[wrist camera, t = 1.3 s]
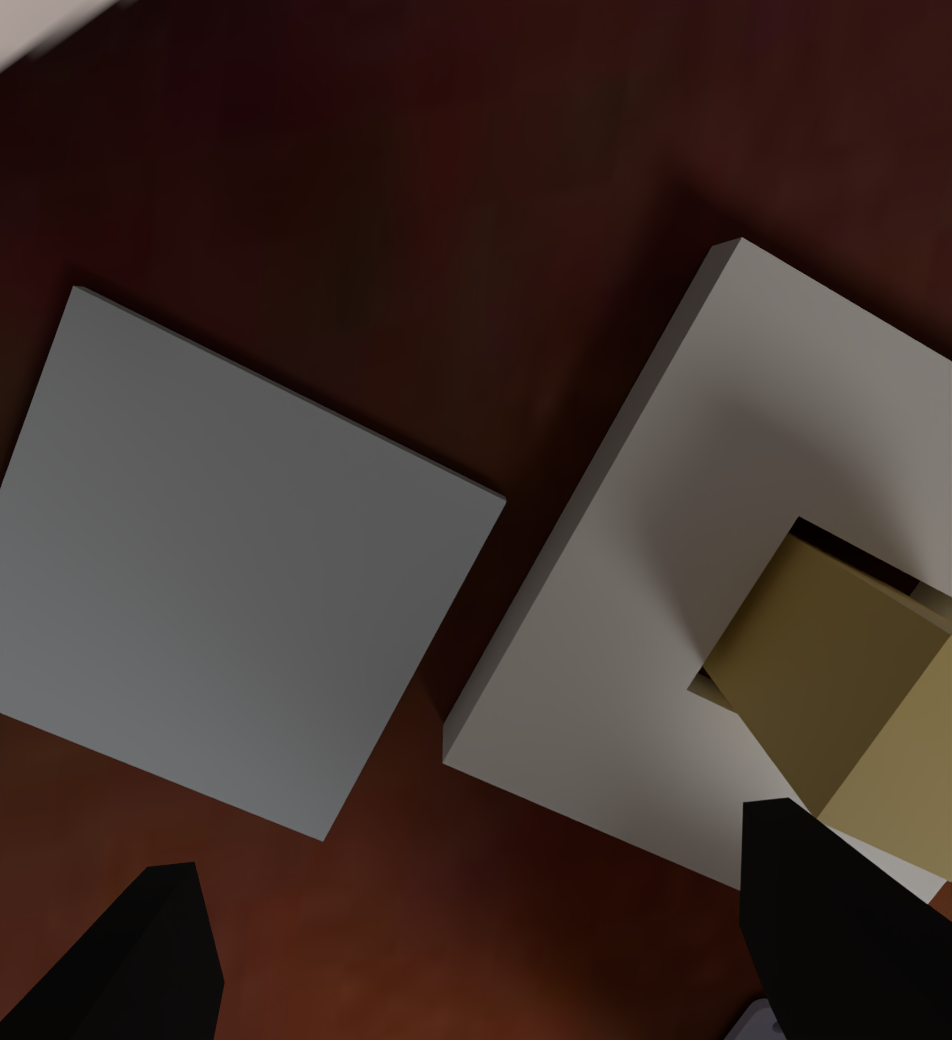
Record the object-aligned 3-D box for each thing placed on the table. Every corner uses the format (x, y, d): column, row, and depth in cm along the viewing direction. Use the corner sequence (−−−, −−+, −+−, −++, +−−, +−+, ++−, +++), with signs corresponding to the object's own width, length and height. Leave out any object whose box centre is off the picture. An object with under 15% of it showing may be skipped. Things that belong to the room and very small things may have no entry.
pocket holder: (1158, 508, 19) (1229, 526, 17) (853, 904, 22) (887, 953, 20) (711, 246, 17) (741, 237, 15) (443, 724, 20) (442, 763, 18)
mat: (505, 496, 18) (506, 501, 18) (326, 829, 21) (323, 841, 20) (84, 286, 17) (73, 285, 16) (-57, 675, 19) (-71, 684, 18)
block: (894, 587, 19) (1132, 728, 13) (810, 707, 20) (990, 900, 13) (770, 522, 19) (950, 634, 12) (689, 648, 20) (815, 820, 13)
